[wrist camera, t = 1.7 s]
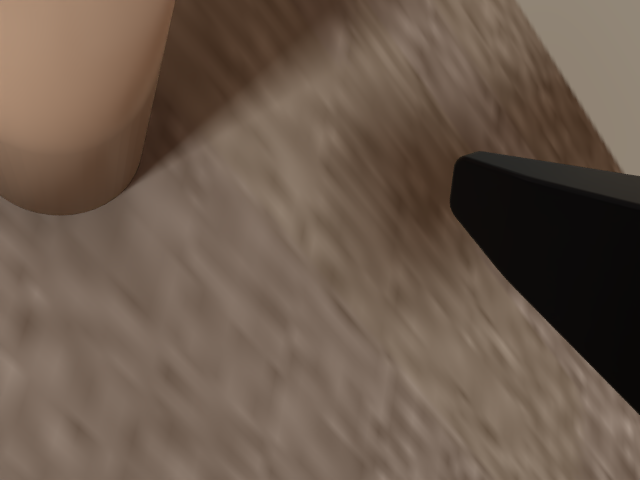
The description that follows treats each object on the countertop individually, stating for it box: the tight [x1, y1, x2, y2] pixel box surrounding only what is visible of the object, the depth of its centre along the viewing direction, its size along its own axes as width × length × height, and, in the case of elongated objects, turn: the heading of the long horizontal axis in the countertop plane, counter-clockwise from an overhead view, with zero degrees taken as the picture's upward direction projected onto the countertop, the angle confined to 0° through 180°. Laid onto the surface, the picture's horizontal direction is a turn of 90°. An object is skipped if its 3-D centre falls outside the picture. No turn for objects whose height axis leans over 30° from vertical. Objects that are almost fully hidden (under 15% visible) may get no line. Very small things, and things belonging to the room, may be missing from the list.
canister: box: [0, 0, 175, 215], centre depth 15 cm, size 6×6×14 cm
